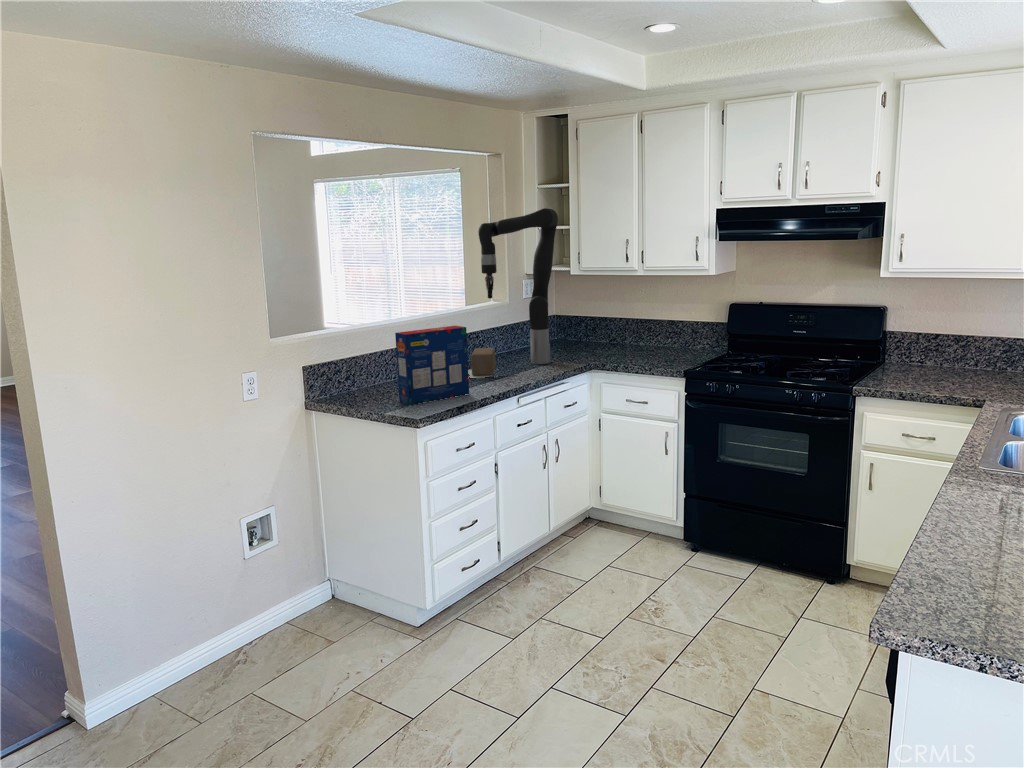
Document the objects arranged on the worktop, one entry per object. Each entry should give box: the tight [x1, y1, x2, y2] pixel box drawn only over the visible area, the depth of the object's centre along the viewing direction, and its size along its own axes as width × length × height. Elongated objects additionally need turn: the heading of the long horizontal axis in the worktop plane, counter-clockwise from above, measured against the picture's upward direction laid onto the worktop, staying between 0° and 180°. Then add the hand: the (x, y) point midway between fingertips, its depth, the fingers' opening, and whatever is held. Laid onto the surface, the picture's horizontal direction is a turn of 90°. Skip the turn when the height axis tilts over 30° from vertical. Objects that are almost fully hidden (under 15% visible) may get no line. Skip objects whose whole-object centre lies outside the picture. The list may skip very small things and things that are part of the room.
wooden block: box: [470, 347, 497, 376], centre depth 362 cm, size 10×10×20 cm
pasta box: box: [394, 325, 470, 406], centre depth 308 cm, size 28×8×28 cm, turn 127°
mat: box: [468, 368, 499, 379], centre depth 361 cm, size 22×22×1 cm
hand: (490, 298), depth 388 cm, fingers closed
